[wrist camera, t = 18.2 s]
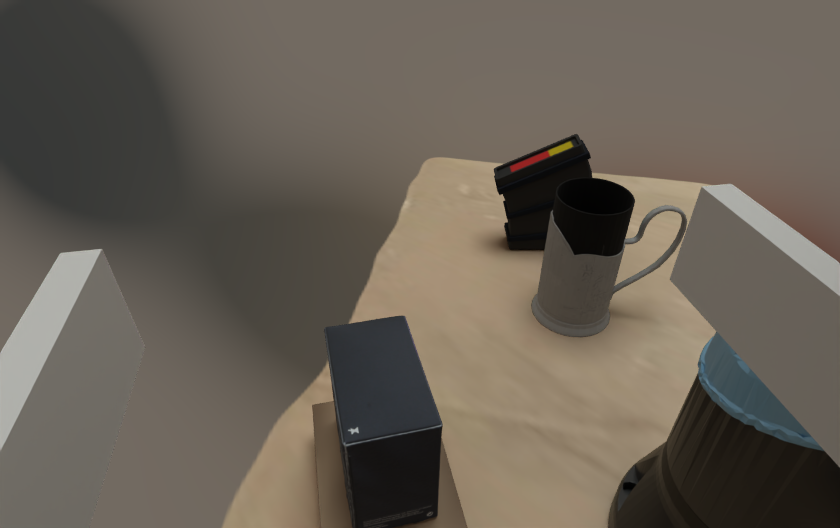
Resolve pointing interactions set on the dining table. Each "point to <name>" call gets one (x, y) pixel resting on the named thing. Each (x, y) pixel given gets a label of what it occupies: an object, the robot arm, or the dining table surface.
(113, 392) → the robot arm
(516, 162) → the magazine
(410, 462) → the small box
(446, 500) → the walnut stand
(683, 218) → the glass holder
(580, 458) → the dining table surface
